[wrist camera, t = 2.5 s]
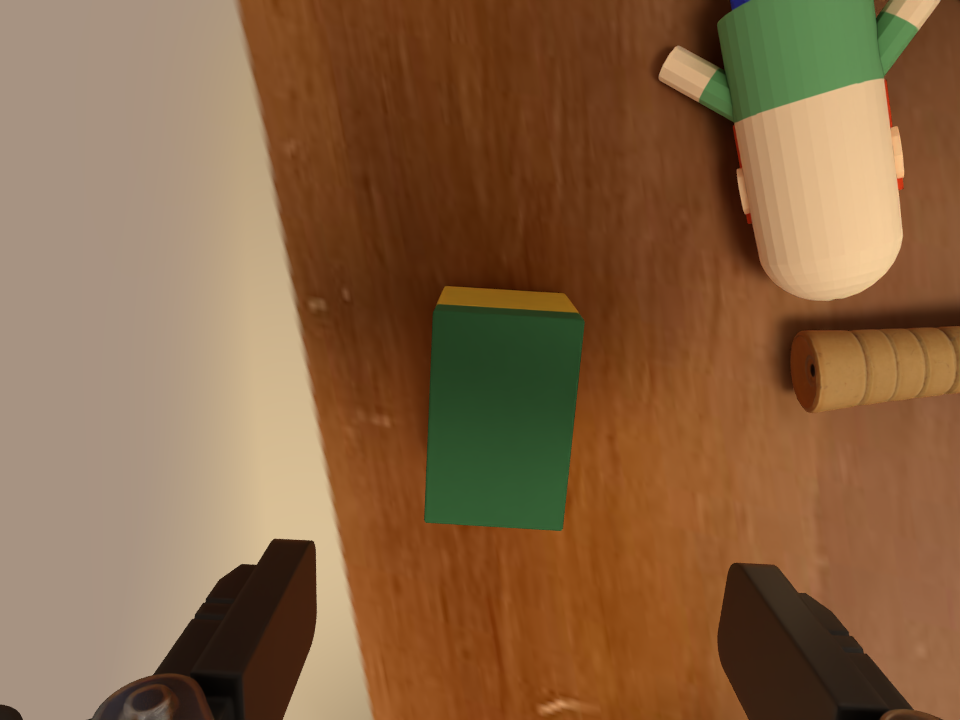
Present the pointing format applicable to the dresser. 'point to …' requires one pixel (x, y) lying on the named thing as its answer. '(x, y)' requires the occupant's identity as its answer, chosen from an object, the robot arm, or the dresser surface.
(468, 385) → the sponge
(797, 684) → the robot arm
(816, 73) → the toy figurine
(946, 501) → the dresser surface
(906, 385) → the kendama
